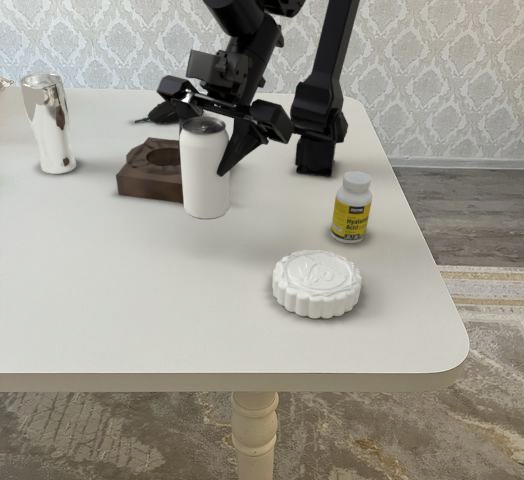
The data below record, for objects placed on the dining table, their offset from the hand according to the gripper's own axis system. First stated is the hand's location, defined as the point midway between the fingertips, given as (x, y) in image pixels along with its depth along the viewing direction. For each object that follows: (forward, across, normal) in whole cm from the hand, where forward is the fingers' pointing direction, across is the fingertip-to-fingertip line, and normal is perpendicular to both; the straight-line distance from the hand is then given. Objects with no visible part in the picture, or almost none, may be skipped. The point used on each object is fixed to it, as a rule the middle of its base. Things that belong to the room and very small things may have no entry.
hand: (199, 168), depth 78 cm
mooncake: (+9, +18, +10) cm, 23 cm away
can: (+4, 0, +6) cm, 7 cm away
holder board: (-2, -18, +21) cm, 28 cm away
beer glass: (+4, -38, +15) cm, 41 cm away
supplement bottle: (-2, +15, +22) cm, 27 cm away
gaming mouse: (-16, -36, +36) cm, 54 cm away
